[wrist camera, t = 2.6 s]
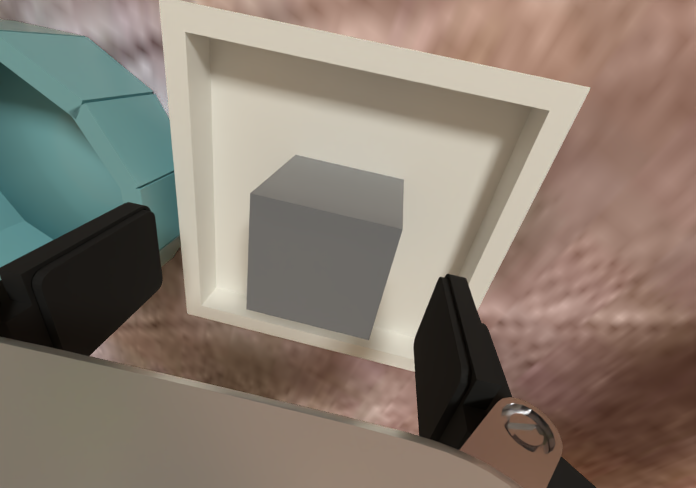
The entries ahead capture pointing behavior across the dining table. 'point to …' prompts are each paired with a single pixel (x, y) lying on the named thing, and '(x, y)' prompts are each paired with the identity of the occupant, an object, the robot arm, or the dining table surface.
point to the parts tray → (350, 156)
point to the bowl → (76, 141)
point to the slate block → (323, 244)
